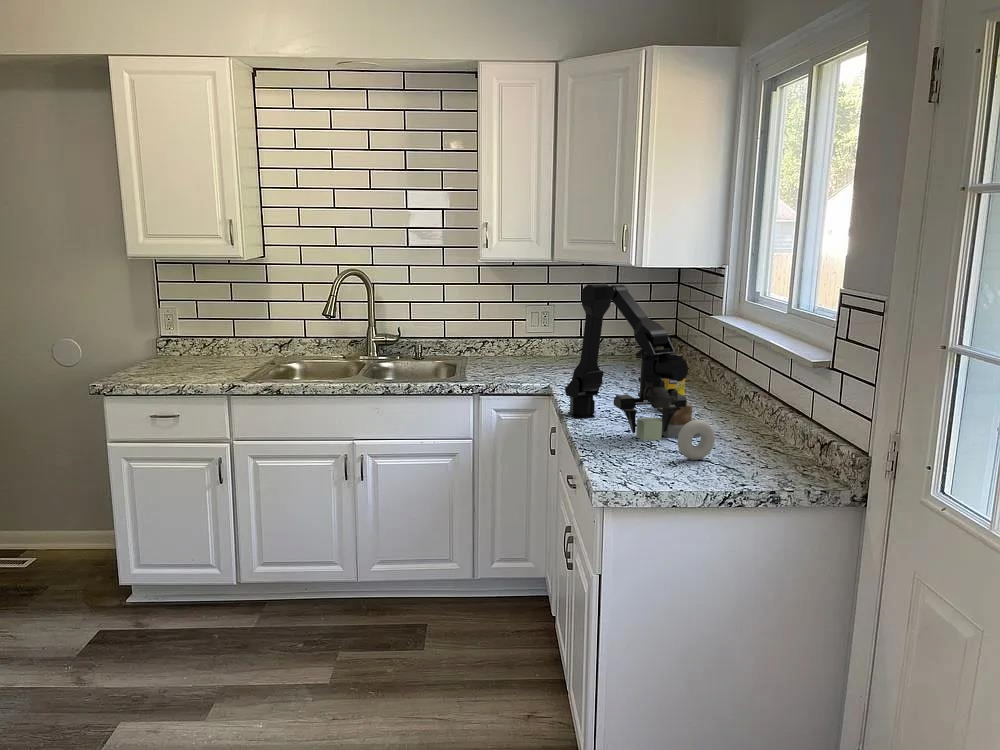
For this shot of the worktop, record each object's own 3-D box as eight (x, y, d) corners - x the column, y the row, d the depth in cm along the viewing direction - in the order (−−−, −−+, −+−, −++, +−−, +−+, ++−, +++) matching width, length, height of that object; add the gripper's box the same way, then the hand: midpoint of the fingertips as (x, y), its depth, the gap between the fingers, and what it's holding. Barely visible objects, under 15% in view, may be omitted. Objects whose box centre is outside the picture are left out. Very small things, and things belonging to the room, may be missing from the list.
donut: (708, 455, 189) (710, 416, 187) (716, 459, 185) (719, 419, 184) (673, 459, 185) (675, 419, 183) (681, 463, 182) (683, 423, 180)
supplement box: (666, 414, 231) (668, 379, 229) (657, 410, 237) (658, 375, 235) (683, 413, 233) (685, 378, 231) (674, 409, 238) (676, 374, 236)
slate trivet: (667, 437, 205) (668, 428, 204) (649, 426, 216) (649, 418, 216) (708, 435, 207) (709, 426, 207) (688, 424, 219) (689, 416, 218)
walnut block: (674, 424, 208) (675, 407, 208) (666, 420, 213) (667, 403, 212) (691, 424, 210) (692, 406, 209) (682, 419, 214) (683, 402, 213)
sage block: (643, 441, 202) (644, 422, 201) (636, 436, 207) (637, 418, 206) (661, 440, 203) (662, 421, 202) (653, 435, 208) (654, 417, 207)
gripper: (629, 382, 192) (627, 442, 195) (698, 379, 196) (694, 438, 199) (613, 374, 203) (611, 431, 205) (679, 372, 207) (676, 428, 209)
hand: (648, 432), depth 204 cm, fingers open, 8 cm apart
